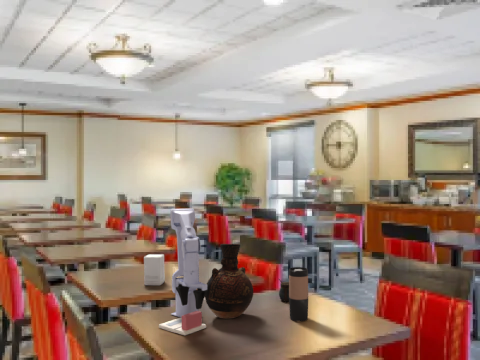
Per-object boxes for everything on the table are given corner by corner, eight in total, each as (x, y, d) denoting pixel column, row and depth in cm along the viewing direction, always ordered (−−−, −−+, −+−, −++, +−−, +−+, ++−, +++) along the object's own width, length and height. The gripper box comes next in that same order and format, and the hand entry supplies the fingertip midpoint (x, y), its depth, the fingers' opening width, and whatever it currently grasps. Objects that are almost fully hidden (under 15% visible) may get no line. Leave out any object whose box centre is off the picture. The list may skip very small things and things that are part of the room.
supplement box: (165, 281, 253) (164, 254, 253) (160, 285, 244) (160, 257, 244) (148, 281, 254) (148, 254, 254) (143, 285, 245) (143, 256, 245)
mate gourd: (294, 303, 209) (293, 280, 209) (277, 302, 211) (276, 280, 211) (295, 298, 216) (295, 277, 216) (279, 298, 218) (278, 276, 218)
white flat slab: (180, 320, 186) (180, 317, 186) (196, 325, 180) (196, 321, 180) (158, 327, 177) (158, 324, 177) (174, 332, 171) (174, 329, 171)
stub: (196, 324, 180) (196, 308, 180) (206, 327, 176) (205, 311, 176) (175, 332, 171) (175, 315, 171) (184, 335, 168) (184, 318, 168)
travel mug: (306, 315, 191) (306, 266, 191) (310, 321, 183) (309, 270, 183) (288, 315, 191) (287, 267, 190) (290, 321, 183) (290, 271, 183)
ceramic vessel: (216, 326, 178) (215, 248, 178) (196, 314, 193) (196, 242, 193) (262, 317, 189) (261, 243, 188) (240, 307, 204) (240, 238, 203)
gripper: (170, 269, 175) (170, 305, 175) (197, 274, 165) (197, 312, 166) (183, 266, 180) (184, 301, 180) (211, 271, 171) (211, 308, 171)
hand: (191, 306), depth 173 cm, fingers open, 7 cm apart
